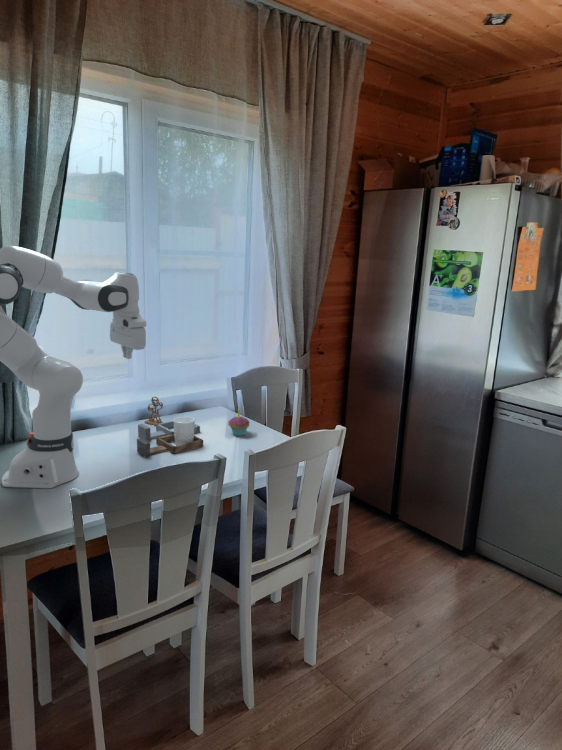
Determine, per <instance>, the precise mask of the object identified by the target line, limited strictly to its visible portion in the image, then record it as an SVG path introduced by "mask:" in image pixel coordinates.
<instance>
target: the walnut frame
mask: <svg viewBox="0 0 562 750" xmlns="http://www.w3.org/2000/svg"><path fill="white" fill-rule="evenodd" d="M155 440H156V443H155V444H156V445H157V446H153V447H151V442H149V441H146V440H145V439H143V438H136V452H137V453H138V454H139V455H141V456H142V457H144V458H148V457H151V456H152V455H154V454H155V455H156V454H160V453H163V452H169V453H170V454H172V455H173V454H174V455H175V454H178V453H182V452H186V451H190V450H193V449H198V448H202V447H204V439H202V438H200V437H199V436H196V435H194V438H193V442H189V443H184V444H180V445H176V446H175V445H173V444H171V443H172V442H175V438H174V434H172V435H167V436H163V437H158V438H155Z"/></svg>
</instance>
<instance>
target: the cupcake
mask: <svg viewBox="0 0 562 750" xmlns="http://www.w3.org/2000/svg"><path fill="white" fill-rule="evenodd" d="M240 414H241V413H240V408H238V409H237V416H234V417H232V418H230V419H229V420H228V424H227V425H228V426H229V427H230V428H231V430H232V435H233V436H235V435H236V436H237V437H242V436H243V437H244V436H245V435H246V432H247V429H248V428H249V427H250V421H249V419H247V418H245V417H244V416H241V415H240Z"/></svg>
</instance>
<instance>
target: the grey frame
mask: <svg viewBox="0 0 562 750" xmlns="http://www.w3.org/2000/svg"><path fill="white" fill-rule="evenodd" d="M167 428H168V429H167ZM172 428H174V421H173V420H169V421H165V422H164V423H159V424H156V426H155V430H156V431H155V432H151V427H149V426H148V425H147V424H145V423H140V424H137V435H138V436H137V437H138V439H140V438H143V439H145V440H146V441H148V442H149V441H151V440H153V439H156V438H158V437H163V436H167V435H172V434H174V430H171V429H172ZM200 431H201V426H200V425H199V424H196V423H195V425H194V434H197V433H200Z"/></svg>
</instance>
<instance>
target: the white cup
mask: <svg viewBox="0 0 562 750" xmlns="http://www.w3.org/2000/svg"><path fill="white" fill-rule="evenodd" d="M172 421H174V427H173V431H174V438H175V441H174V446H175V445H180V444H184V443H189V442H193V438H194V436H195V433H194V425H195V424H196V422H195V421H196V420H195V418H194V417H192V416H184V415H183V416H178V417H175V418H173V420H172Z"/></svg>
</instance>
